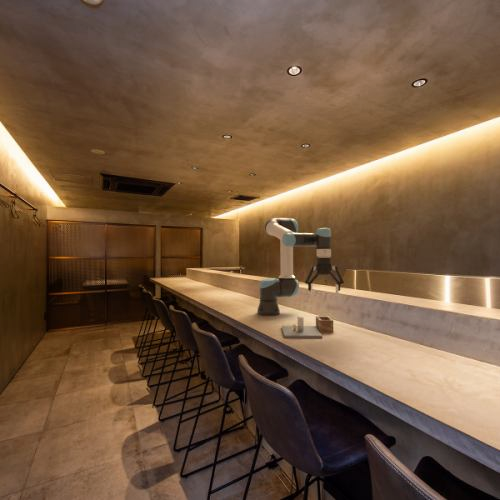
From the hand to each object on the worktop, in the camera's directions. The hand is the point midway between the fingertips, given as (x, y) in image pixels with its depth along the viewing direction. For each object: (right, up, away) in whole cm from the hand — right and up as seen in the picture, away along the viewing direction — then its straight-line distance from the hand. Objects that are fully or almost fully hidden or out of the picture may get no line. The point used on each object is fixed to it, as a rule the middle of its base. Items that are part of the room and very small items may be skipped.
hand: (324, 297), depth 154 cm
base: (-14, -17, -6) cm, 23 cm away
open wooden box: (0, -17, 0) cm, 17 cm away
